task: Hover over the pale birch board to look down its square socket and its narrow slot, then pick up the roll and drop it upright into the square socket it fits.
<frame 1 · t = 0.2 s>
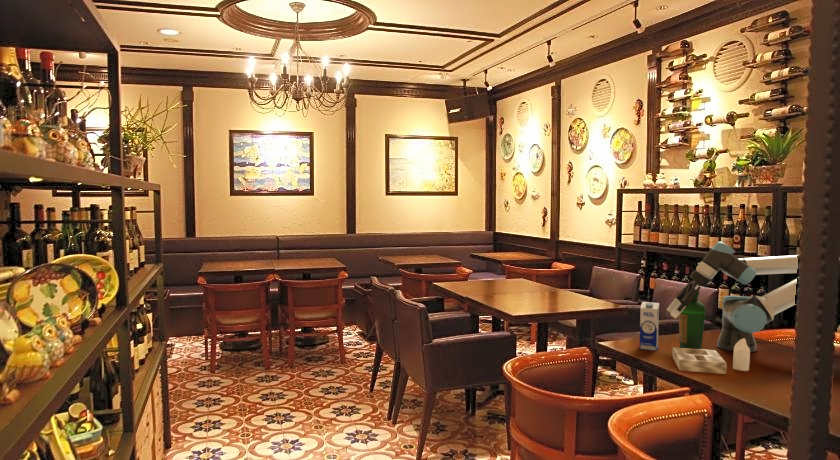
hand: (670, 314, 254), 16 cm above the table, tool tilted 35°, fingers open, 13 cm apart
bottle: (690, 350, 256), on the table
milk carton: (648, 348, 259), on the table
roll: (741, 369, 227), on the table
socket board: (697, 365, 232), on the table
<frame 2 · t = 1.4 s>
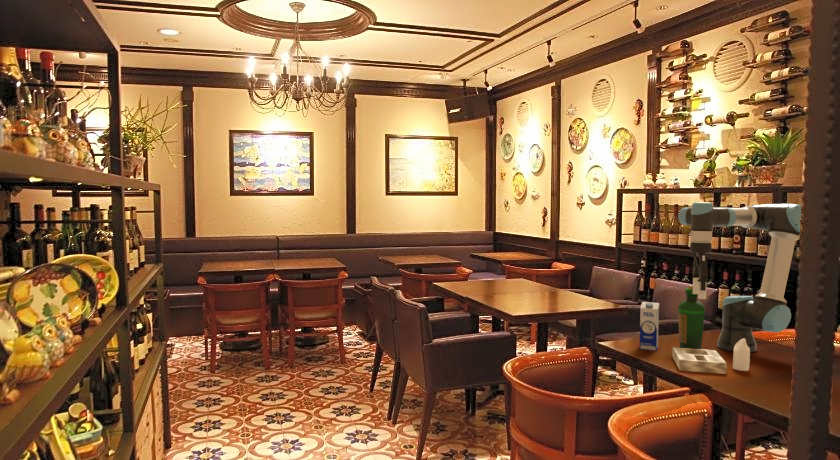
hand: (699, 296, 231), 27 cm above the table, tool pointing down, fingers open, 13 cm apart
nothing on the table moved.
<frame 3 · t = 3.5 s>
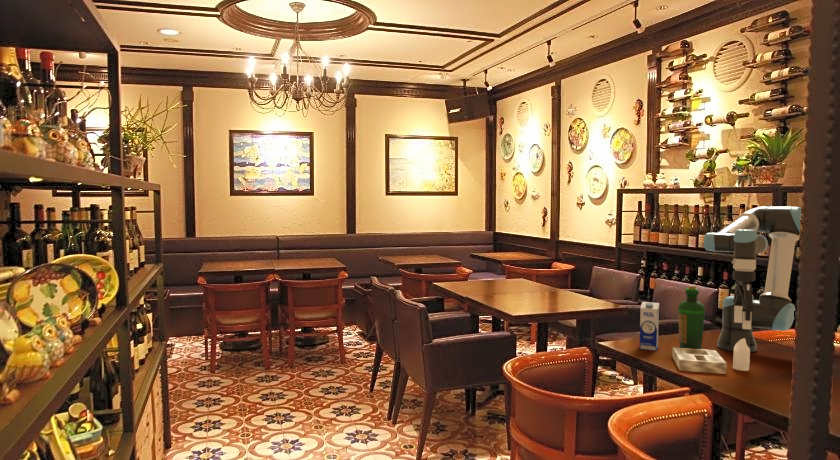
hand: (742, 325, 226), 17 cm above the table, tool pointing down, fingers open, 13 cm apart
nothing on the table moved.
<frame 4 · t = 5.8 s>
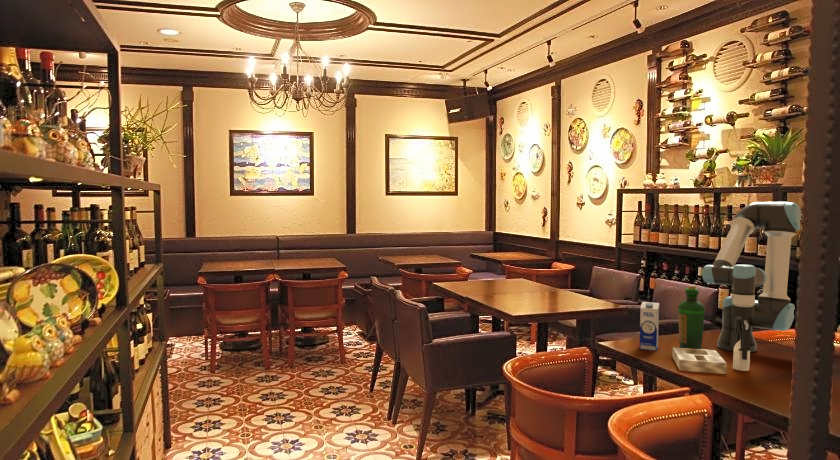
hand: (741, 365, 227), 1 cm above the table, tool pointing down, fingers closed on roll, 6 cm apart
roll: (741, 369, 227), on the table, touching gripper
everything else where it was.
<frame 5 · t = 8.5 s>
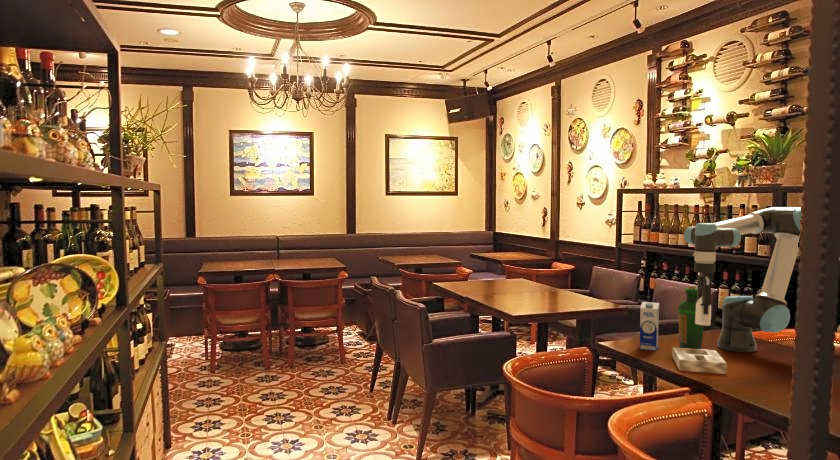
hand: (703, 320, 235), 17 cm above the table, tool pointing down, fingers closed on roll, 6 cm apart
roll: (703, 324, 235), point 15 cm above the table, touching gripper
everything else where it was.
when the fingers open (7 cm above the table, at t = 11.6 s): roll drops 5 cm, resting in socket board.
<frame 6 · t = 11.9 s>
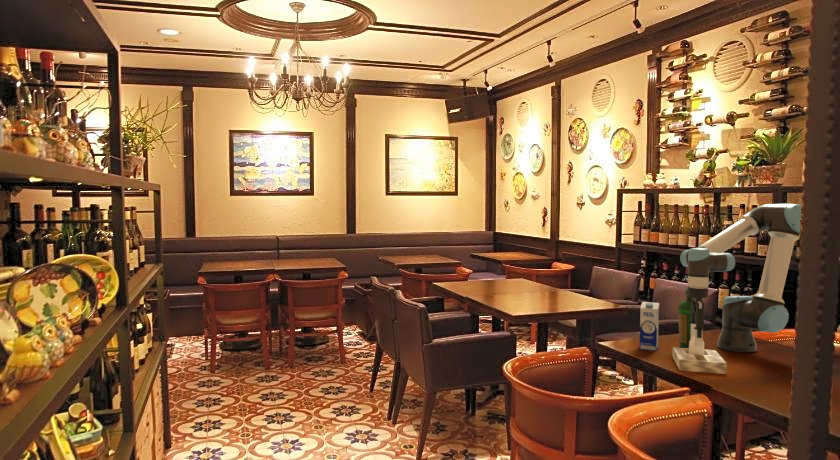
hand: (696, 342, 236), 8 cm above the table, tool pointing down, fingers open, 10 cm apart
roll: (695, 362, 237), resting in socket board
everything else where it was.
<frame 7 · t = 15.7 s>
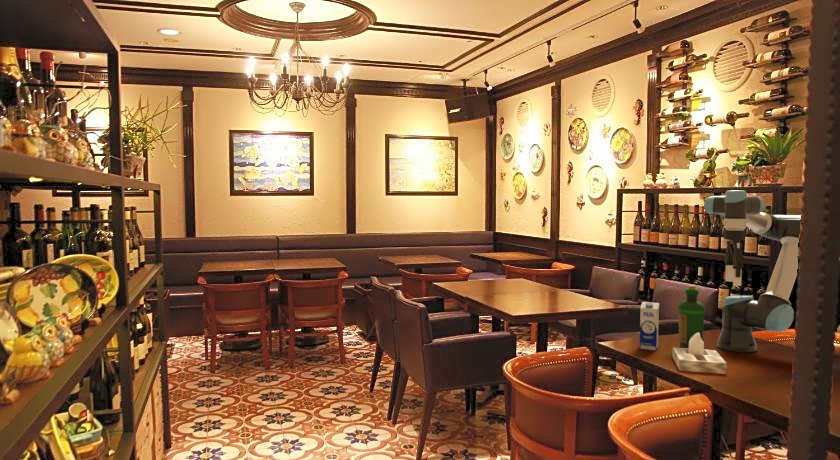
hand: (733, 283, 234), 32 cm above the table, tool pointing down, fingers open, 13 cm apart
nothing on the table moved.
at the end: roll 0.1 cm from the target spot on the socket board, point 0.0 cm above the socket board's base; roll tilted 2°; the gripper is holding nothing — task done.
